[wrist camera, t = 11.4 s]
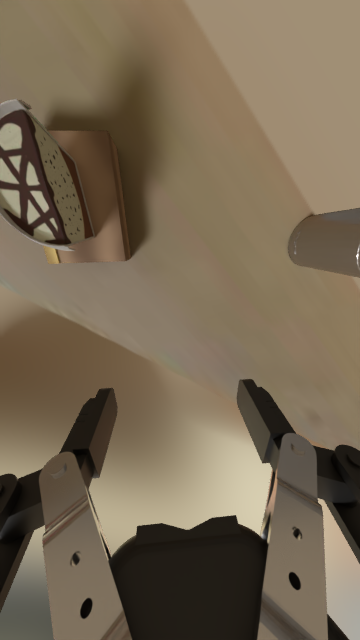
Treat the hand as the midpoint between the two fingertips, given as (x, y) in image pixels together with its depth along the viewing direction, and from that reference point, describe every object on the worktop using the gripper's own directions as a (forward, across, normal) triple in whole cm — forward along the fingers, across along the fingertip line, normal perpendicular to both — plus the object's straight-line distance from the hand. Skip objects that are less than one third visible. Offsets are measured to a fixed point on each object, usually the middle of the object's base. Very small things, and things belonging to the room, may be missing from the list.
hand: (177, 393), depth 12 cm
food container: (+23, +14, -14) cm, 31 cm away
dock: (+28, +13, -14) cm, 34 cm away
